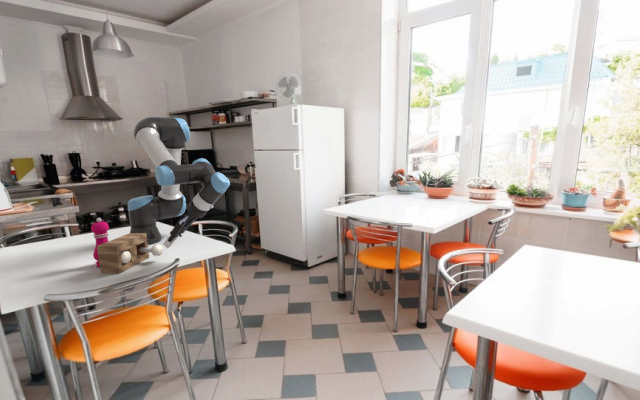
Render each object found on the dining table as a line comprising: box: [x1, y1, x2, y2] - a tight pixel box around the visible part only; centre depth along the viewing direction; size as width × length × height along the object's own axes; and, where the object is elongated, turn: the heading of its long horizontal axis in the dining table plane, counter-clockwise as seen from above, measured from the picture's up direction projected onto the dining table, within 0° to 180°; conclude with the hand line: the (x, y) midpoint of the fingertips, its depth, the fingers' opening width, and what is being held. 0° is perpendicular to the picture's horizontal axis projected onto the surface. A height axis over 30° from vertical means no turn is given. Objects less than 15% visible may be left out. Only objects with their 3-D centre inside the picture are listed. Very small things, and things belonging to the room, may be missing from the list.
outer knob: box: [120, 251, 131, 263], centre depth 128 cm, size 5×8×5 cm, turn 84°
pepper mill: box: [90, 217, 110, 268], centre depth 133 cm, size 7×7×20 cm
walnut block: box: [97, 232, 150, 275], centre depth 133 cm, size 18×8×11 cm, turn 174°
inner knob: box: [140, 244, 164, 257], centre depth 136 cm, size 5×8×5 cm, turn 84°
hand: (166, 245), depth 135 cm, fingers closed
